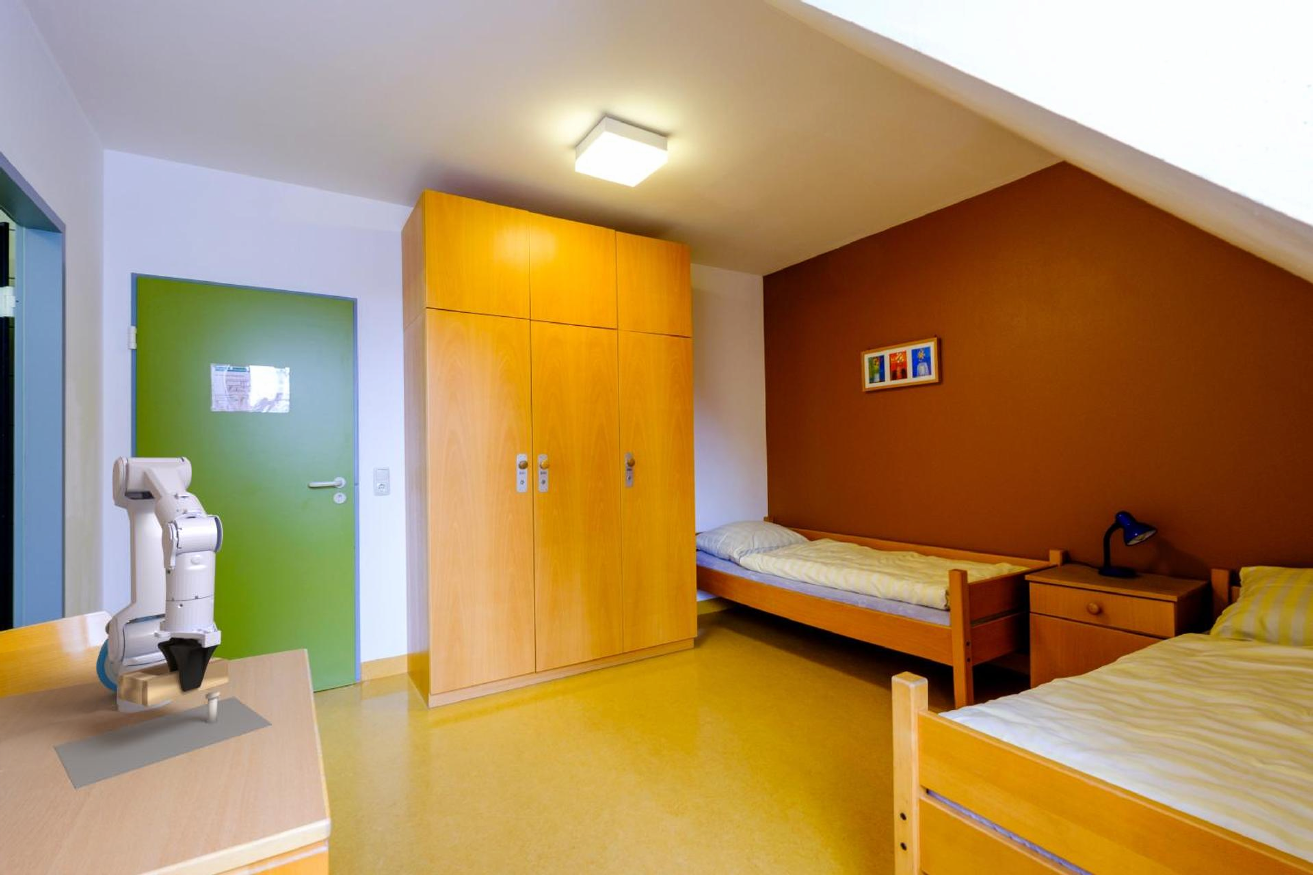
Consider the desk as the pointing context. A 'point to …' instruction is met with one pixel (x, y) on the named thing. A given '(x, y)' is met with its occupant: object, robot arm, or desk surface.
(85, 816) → the desk surface
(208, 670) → the oak frame
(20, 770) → the desk surface
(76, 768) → the slate board
